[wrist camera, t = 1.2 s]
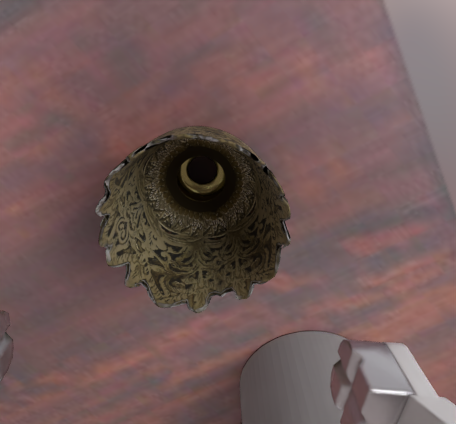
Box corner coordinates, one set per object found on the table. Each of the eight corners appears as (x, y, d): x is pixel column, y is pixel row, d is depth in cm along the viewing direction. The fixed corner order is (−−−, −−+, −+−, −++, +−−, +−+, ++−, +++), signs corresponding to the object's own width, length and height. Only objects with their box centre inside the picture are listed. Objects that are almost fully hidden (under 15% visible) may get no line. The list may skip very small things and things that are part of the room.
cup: (249, 85, 20) (266, 109, 12) (280, 209, 23) (309, 287, 15) (116, 125, 20) (59, 171, 13) (163, 240, 23) (137, 330, 16)
